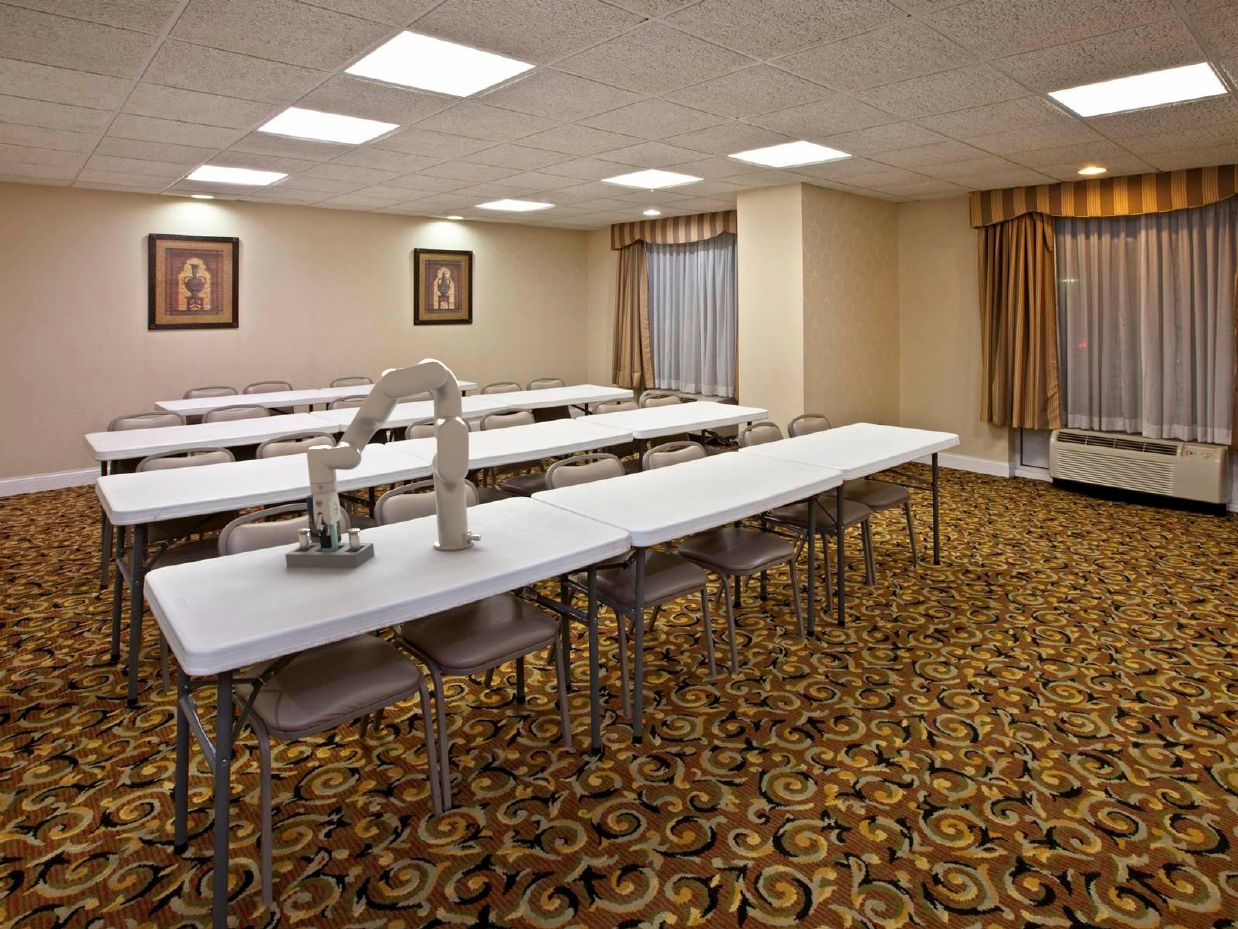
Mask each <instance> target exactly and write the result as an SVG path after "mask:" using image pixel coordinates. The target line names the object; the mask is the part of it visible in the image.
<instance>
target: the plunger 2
mask: <svg viewBox="0 0 1238 929" xmlns="http://www.w3.org/2000/svg"><path fill="white" fill-rule="evenodd" d="M346 533H347V534H348V543H349V544H350V552H358V551H359V550H361V548H360V543H361V540H360V533H361V528H358V527H353V528H349V529H347V530H346Z"/></svg>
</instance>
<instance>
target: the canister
mask: <svg viewBox="0 0 1238 929" xmlns="http://www.w3.org/2000/svg"><path fill="white" fill-rule="evenodd" d="M305 501H306V508H307V515H308V516H307V518H308V528H310V532H309V537H310V543H320V536H319V532H318V530H317V526H316V525H315V521H314V511H313V494H311V493H310V494H309V495H307V497H306V500H305ZM341 528H342V527H341V521H340V520H339V521H337V532H338V543H341V541H342V539H343V538H342V529H341Z"/></svg>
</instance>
